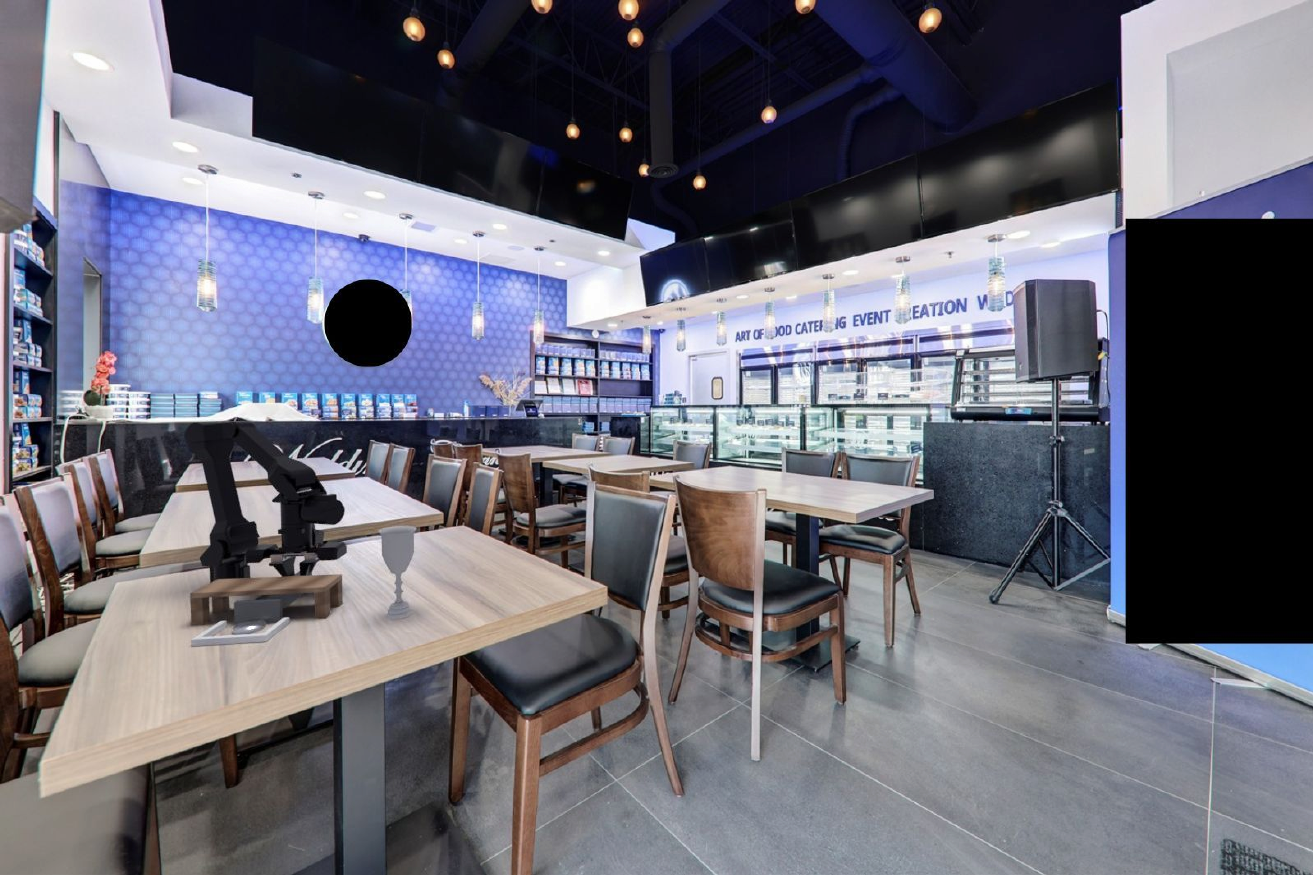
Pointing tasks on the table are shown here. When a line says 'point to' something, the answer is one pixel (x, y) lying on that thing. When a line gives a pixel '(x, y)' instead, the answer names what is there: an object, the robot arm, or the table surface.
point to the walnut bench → (266, 593)
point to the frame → (209, 639)
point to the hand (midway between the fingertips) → (298, 589)
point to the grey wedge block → (263, 607)
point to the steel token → (249, 627)
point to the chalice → (398, 563)
